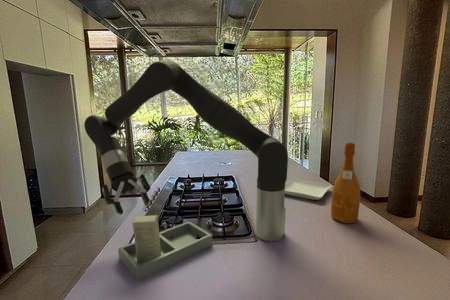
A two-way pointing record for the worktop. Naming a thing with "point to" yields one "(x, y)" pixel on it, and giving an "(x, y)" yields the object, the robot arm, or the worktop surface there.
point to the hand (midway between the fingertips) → (134, 209)
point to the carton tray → (167, 249)
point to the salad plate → (306, 189)
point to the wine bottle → (346, 190)
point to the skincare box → (147, 237)
